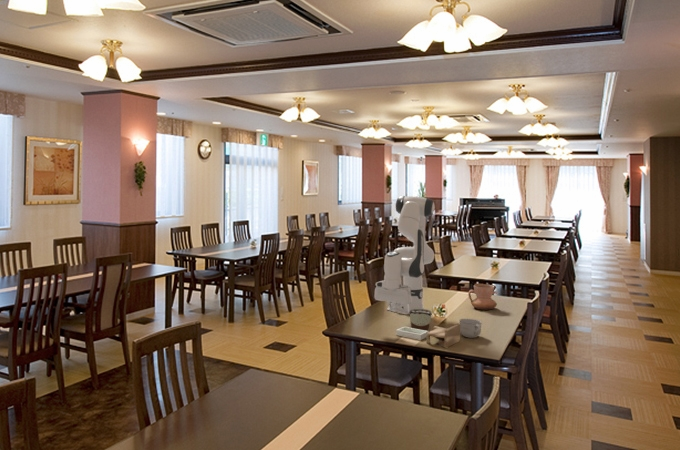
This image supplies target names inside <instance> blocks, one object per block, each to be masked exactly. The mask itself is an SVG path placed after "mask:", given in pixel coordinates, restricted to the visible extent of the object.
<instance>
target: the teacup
mask: <svg viewBox="0 0 680 450" xmlns="http://www.w3.org/2000/svg"><path fill="white" fill-rule="evenodd" d="M459 324H460V335H462V336H463V337H466V338H471V339H472V338H473V339H474V338H478V337H479V335H481V333H482V325H483V322H482V321H481V320H479V319H473V318H460V319H459Z"/></svg>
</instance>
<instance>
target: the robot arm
mask: <svg viewBox="0 0 680 450" xmlns="http://www.w3.org/2000/svg"><path fill="white" fill-rule="evenodd" d="M394 204H395V211H396V212H397V214H400V215H399V218H398V222H397V229H398V232H399V233H400V234H401V235H402V236H404V237H405V238H406V239H407V240H408V241H410V242H411V243H413V246H401V247H398V248H395V249H394V250H393V251H389V252H387V253H385V256H384V264H383V271H384V276H383V280H380V281H377V282H375V286H376V287H375V288H374V299H375V301H379V302H380V301H381V302H387V306H388V307H387V309H386V310H387V311H389V312H393V313H398V314H401V315H410V314H409V311H410V310H412V309H425V308H424V302H423V301H424V299H423V298H424V297H423V296H424V289H423V274H424V272H425V265H429V264H431V263H432V262H434V259H435V252H434V250H433V249H432V248H431V247H430V246H429V245H428V243H427V242H426V241H427V240H426V225H427V224H426V223H427V222H426V218H429V217H432V215H433V214H434V212H435V208H436V206H435V202H434V200H433V199H432V198H429V197H427V198H426V197H422V196H409V195H408V196H405V195H401V196H398V197H397V199H396V201H395V203H394ZM402 277H403V278H402ZM402 280H403V282H402ZM402 283H403V284H402Z"/></svg>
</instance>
